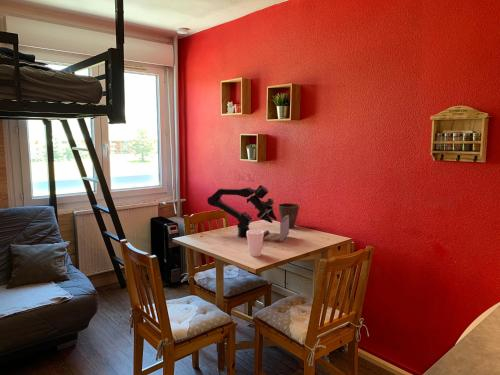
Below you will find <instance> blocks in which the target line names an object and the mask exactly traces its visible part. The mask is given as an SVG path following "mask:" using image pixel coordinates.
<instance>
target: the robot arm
mask: <svg viewBox="0 0 500 375" xmlns="http://www.w3.org/2000/svg"><path fill="white" fill-rule="evenodd" d="M268 193H269V189H268V188H267V187H265V186H263V185H262V184H260V185H259V186H258V187H257V188H256V189H252V188H251V187H250V186H249V187H244V188H243V187H242V188H223V187H221V188H218V189H217V191H216V192H214V193H213V194H212V195H211V196H208V198H207V204H208V205H210V206H211V207H214V208H219V209H220V210H222V211H224V212H225V213H226V214H228V215H230V216H232V217H233V218H235V219H236V220H237V221H238V223H237V224H236V227H237V228H238V229H237V233H238V234H237V235H238V236H237V237H240V238H247V231H248V230H250V227H249V226H250V225H251V223H252V221H253V218H252V216H251V215H250V214H249V213H247V212H246V211H243V212H240V211H238V210H237V209H235V208H233V207H232V206H230V205H228V204H227V203H225V202H223V200H222V199H221V198H222V197H223V195H224V196H225V195H226V196H228V195H229V196H239V197H243V198H246V204H248V203H251V204H252V205H253V207H254V209H255V210H257V211H258V213H257V214H256V217H257V218H258V219H260V220H263V221H265V222H268V223H271V224H273V222H274V221H276V220H278V218H277V216H276V215H275V213H274V210H275V209H274V206H273V204H275V202H274V199H273V198H271V197H270V198H267V201H264V200H262V199H263V198H264V197H266V196H267V194H268ZM272 219H273V220H274V221H273V220H272Z"/></svg>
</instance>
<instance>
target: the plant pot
mask: <svg viewBox="0 0 500 375" xmlns="http://www.w3.org/2000/svg"><path fill="white" fill-rule="evenodd" d="M299 209H300V205H299V204H297V203H291V202H289V203H287V202H286V203H279V204H278V212H279V217H280V218H279V219H280V220H281V219H283V218H284V217H285V216H286V215H289V229H293V228H294V227H295V224H296V222H297V218H298V214H299Z"/></svg>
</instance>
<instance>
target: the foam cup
mask: <svg viewBox="0 0 500 375" xmlns="http://www.w3.org/2000/svg"><path fill="white" fill-rule="evenodd" d="M264 232H265V231H264V230H262V229H249V230H248V231H247V237H246V239H247V247H248V253H249V256H250V257H259V256H261V255H262V249H263V243H264V241H263V236H264Z"/></svg>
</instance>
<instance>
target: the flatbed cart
mask: <svg viewBox="0 0 500 375" xmlns="http://www.w3.org/2000/svg"><path fill="white" fill-rule="evenodd" d="M263 242H269V243H279V244H280V243H281V242H282V241H281V240H280V232H278V233H276V232H270V230H269V229H267V230H265V231H264V236H263Z"/></svg>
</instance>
